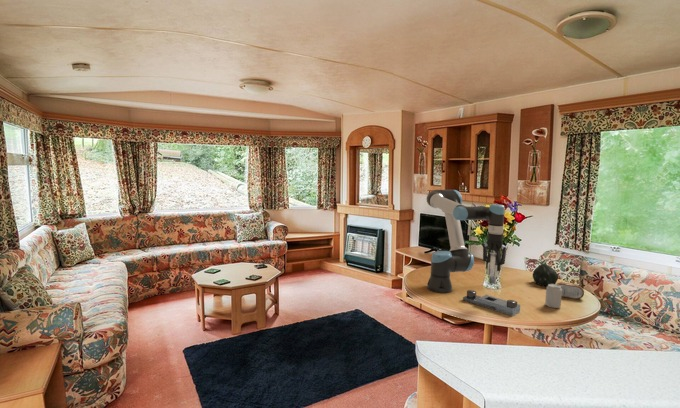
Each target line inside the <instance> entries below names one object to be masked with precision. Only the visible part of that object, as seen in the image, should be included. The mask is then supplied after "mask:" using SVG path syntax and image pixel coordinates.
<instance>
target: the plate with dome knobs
mask: <svg viewBox="0 0 680 408" xmlns="http://www.w3.org/2000/svg"><path fill="white" fill-rule="evenodd" d="M463 301H464V302H466V303H469V304H472V305H476V306H479V307H482V308H484V309H485V308H486V309H489V310H491V311H495V312H498V313H501V314H504V315H507V316H511V317H513V316H516V315H517V314H520V313H521V304H519V303H518V301H517V300H515V299H514V300H513V299H507V300H505V299H502V298H499V297H495V296H492V295H489V294H485V295H483V296H480V295H477V291H476V290H472V289H469V290H467V291H466V295H465V296H463V297H462V302H463Z"/></svg>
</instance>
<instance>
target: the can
mask: <svg viewBox="0 0 680 408" xmlns="http://www.w3.org/2000/svg"><path fill="white" fill-rule="evenodd" d="M556 284H557V283H556ZM556 284H548V286H546V288H545V289H546V291H545V303H544V304H545V305H546V306H547V307H548V308H551V309H559V308H560V307H561V306H562V297H561V296H562V289H561V286H559V285H556Z"/></svg>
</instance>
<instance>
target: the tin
mask: <svg viewBox="0 0 680 408" xmlns="http://www.w3.org/2000/svg"><path fill="white" fill-rule="evenodd" d="M556 285H559V286H561V289H562V296H561V298H568V299H574V300H580V299H582V298H583V297H584V296H585V290H584V288H583V287H582V286H581V285H580V284H575V283H569V282H563V281H561V282H558V283H557V282H556Z"/></svg>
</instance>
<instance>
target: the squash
mask: <svg viewBox="0 0 680 408" xmlns="http://www.w3.org/2000/svg"><path fill="white" fill-rule="evenodd" d="M532 272H533V273H532V279H533V280H534V282H535V284H537V285H540V286H542V287H543V286H545V287H547V286H548V284H557V281H558V280H559V275H558V272H557V271H556V270H555V269H554V268H552V267H551V266H550V265H548V264H546V263H541V264H540V265H538V266H537V267H536V268H534V270H533V271H532Z"/></svg>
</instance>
